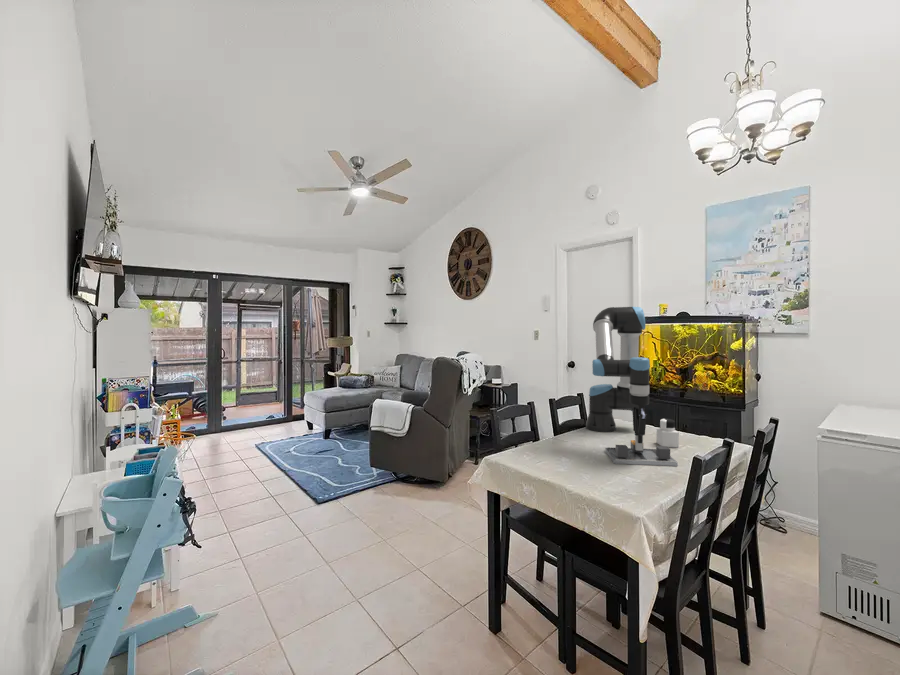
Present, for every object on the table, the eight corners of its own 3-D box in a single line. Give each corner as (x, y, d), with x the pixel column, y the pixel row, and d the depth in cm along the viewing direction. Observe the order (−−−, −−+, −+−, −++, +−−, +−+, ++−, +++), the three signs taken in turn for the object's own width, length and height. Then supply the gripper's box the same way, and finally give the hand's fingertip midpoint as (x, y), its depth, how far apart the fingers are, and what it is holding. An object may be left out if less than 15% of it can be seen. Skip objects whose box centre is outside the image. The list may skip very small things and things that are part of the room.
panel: (605, 451, 181) (605, 447, 181) (662, 453, 177) (662, 449, 177) (613, 463, 165) (614, 459, 165) (677, 466, 161) (677, 461, 161)
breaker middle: (630, 449, 177) (630, 440, 176) (640, 449, 176) (640, 440, 176) (633, 452, 173) (633, 442, 172) (643, 452, 172) (643, 443, 172)
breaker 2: (656, 455, 168) (656, 446, 168) (666, 455, 167) (666, 446, 167) (659, 458, 164) (659, 449, 164) (670, 459, 164) (670, 449, 163)
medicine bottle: (672, 442, 191) (672, 417, 191) (679, 447, 184) (679, 421, 184) (656, 442, 192) (656, 417, 191) (662, 447, 185) (662, 421, 184)
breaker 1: (615, 454, 171) (615, 444, 170) (625, 454, 170) (625, 445, 170) (617, 457, 167) (617, 447, 166) (628, 457, 166) (628, 448, 166)
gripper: (625, 391, 178) (625, 444, 179) (634, 397, 165) (634, 454, 166) (643, 391, 176) (643, 445, 177) (654, 397, 164) (653, 455, 165)
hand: (638, 449), depth 172 cm, fingers closed
